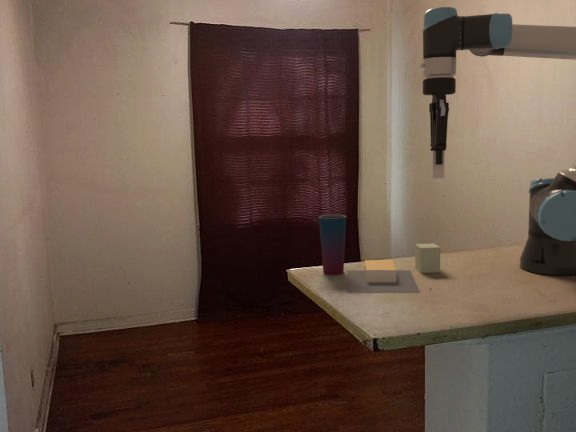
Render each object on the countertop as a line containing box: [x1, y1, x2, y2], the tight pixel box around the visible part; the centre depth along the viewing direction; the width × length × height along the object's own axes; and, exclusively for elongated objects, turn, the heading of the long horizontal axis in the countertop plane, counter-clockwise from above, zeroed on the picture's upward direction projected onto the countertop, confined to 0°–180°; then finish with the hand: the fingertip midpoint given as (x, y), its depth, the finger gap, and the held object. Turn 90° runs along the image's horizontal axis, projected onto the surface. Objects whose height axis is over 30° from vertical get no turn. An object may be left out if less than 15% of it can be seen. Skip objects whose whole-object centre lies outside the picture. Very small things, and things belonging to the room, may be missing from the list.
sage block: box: [414, 242, 441, 274], centre depth 149 cm, size 5×5×7 cm
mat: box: [346, 269, 421, 294], centre depth 141 cm, size 16×20×1 cm
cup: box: [318, 214, 347, 276], centre depth 149 cm, size 7×7×15 cm
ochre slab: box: [364, 259, 397, 282], centre depth 144 cm, size 7×3×10 cm
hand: (437, 177), depth 142 cm, fingers closed
